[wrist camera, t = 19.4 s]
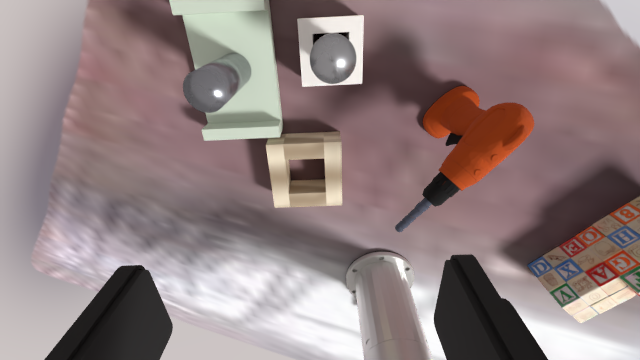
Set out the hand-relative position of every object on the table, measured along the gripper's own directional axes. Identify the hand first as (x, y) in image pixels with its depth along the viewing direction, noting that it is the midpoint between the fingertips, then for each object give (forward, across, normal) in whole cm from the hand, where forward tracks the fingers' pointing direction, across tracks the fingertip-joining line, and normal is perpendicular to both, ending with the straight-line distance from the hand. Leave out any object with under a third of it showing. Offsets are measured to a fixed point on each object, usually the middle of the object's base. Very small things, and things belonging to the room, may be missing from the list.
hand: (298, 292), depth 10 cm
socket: (+34, +2, +12) cm, 36 cm away
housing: (+34, -2, -4) cm, 35 cm away
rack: (+34, +10, -2) cm, 36 cm away
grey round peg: (+33, +10, -2) cm, 34 cm away
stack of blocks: (+35, -47, +29) cm, 65 cm away
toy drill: (+34, -15, +8) cm, 38 cm away
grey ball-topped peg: (+34, -2, -4) cm, 34 cm away
